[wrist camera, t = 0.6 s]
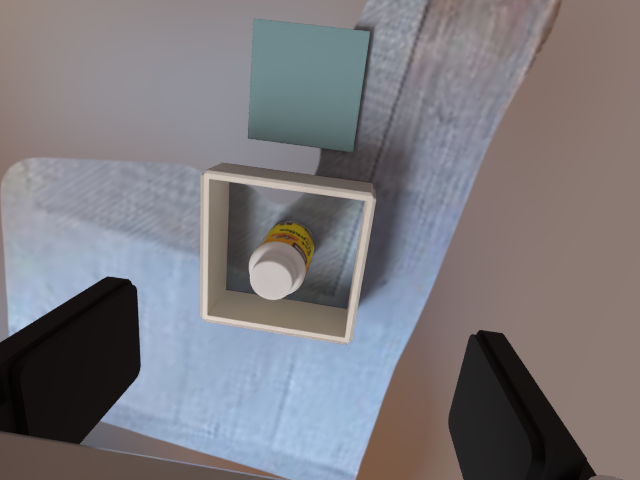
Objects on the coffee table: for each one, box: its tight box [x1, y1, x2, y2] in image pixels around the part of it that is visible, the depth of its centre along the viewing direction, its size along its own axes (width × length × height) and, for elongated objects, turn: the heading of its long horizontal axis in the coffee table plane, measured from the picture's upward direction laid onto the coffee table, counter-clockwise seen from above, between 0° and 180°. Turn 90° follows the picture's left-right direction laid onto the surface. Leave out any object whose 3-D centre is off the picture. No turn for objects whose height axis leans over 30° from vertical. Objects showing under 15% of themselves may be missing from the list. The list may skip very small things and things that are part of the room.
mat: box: [248, 19, 370, 152], centre depth 38 cm, size 11×11×1 cm
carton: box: [200, 163, 376, 345], centre depth 41 cm, size 17×17×6 cm
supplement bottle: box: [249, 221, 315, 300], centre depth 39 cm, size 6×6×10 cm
